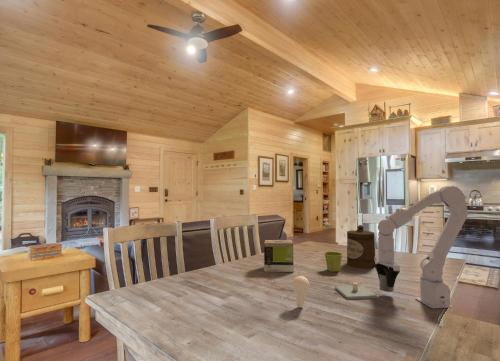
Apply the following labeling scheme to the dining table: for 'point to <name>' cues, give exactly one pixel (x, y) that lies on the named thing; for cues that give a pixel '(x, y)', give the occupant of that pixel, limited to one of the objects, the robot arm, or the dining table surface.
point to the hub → (384, 283)
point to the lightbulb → (300, 289)
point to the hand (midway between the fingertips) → (386, 284)
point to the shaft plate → (355, 292)
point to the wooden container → (360, 248)
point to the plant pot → (333, 261)
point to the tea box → (278, 256)
